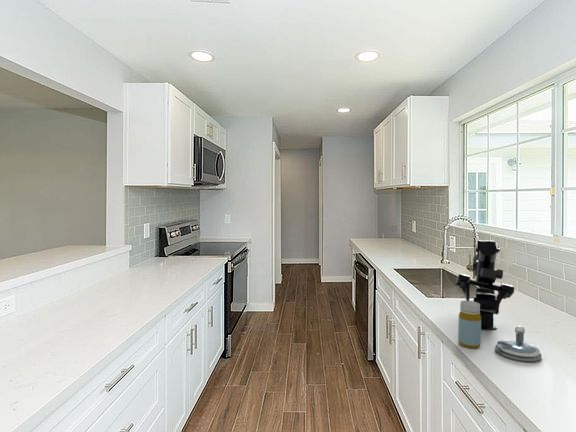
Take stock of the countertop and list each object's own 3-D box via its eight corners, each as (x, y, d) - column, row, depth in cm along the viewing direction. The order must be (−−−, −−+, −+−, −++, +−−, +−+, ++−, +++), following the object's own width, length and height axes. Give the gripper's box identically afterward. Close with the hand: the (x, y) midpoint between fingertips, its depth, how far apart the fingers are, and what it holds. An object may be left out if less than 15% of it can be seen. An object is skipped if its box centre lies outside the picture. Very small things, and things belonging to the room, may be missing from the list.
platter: (489, 343, 125) (489, 340, 125) (522, 342, 126) (522, 339, 126) (512, 358, 113) (512, 355, 113) (548, 357, 114) (549, 354, 114)
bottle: (475, 350, 122) (476, 307, 121) (454, 344, 127) (455, 302, 127) (483, 345, 127) (484, 303, 126) (463, 339, 132) (464, 299, 131)
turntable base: (486, 345, 126) (486, 326, 126) (522, 345, 127) (522, 325, 127) (511, 363, 113) (512, 341, 113) (551, 362, 114) (552, 340, 113)
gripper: (463, 253, 136) (458, 291, 128) (520, 265, 129) (517, 306, 122) (458, 266, 145) (452, 302, 137) (510, 278, 138) (507, 316, 131)
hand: (481, 306), depth 132 cm, fingers open, 9 cm apart
